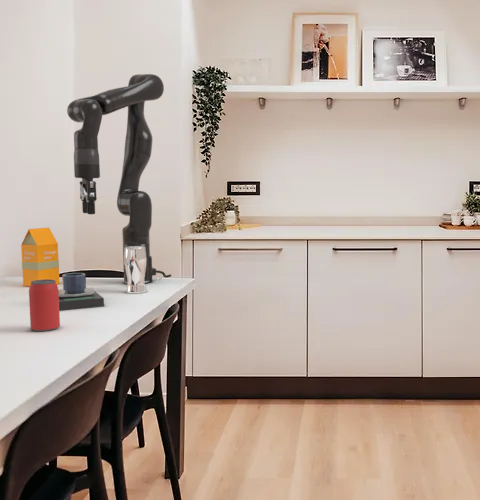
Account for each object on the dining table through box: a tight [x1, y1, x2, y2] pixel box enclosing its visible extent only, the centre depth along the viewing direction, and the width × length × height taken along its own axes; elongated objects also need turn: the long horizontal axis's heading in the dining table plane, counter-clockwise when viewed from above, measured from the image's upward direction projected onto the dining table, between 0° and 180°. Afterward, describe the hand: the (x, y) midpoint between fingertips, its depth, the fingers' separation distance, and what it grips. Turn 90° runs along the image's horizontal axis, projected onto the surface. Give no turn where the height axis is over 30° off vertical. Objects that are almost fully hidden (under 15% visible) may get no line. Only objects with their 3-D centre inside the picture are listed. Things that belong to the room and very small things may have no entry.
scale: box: [59, 291, 105, 312], centre depth 183 cm, size 13×15×3 cm
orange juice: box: [20, 227, 61, 287], centre depth 215 cm, size 8×9×20 cm
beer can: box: [28, 279, 61, 332], centre depth 152 cm, size 7×7×12 cm
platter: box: [58, 287, 96, 297], centre depth 183 cm, size 11×11×1 cm
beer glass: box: [124, 246, 147, 294], centre depth 203 cm, size 7×7×15 cm
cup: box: [61, 272, 87, 293], centre depth 183 cm, size 6×6×5 cm
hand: (88, 213), depth 198 cm, fingers open, 8 cm apart
